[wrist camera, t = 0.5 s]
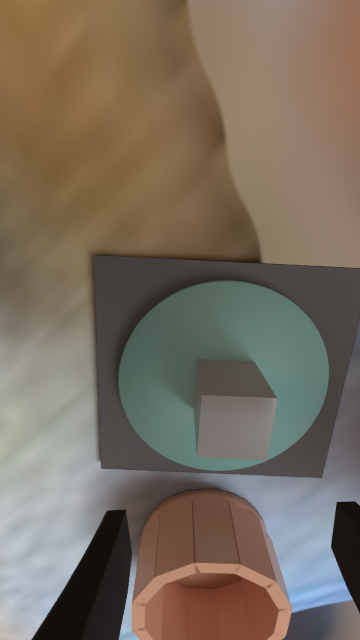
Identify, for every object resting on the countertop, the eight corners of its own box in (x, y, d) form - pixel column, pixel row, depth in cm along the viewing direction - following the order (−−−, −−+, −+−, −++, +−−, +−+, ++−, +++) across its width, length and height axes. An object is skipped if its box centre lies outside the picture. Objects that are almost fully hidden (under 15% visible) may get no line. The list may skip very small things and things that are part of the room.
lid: (341, 285, 16) (407, 302, 11) (303, 465, 20) (341, 534, 15) (119, 274, 16) (94, 287, 11) (122, 457, 19) (103, 525, 15)
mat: (365, 268, 16) (371, 269, 16) (318, 472, 20) (321, 477, 20) (96, 254, 16) (93, 255, 16) (103, 463, 20) (101, 468, 20)
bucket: (274, 491, 21) (302, 566, 16) (257, 582, 24) (277, 670, 19) (143, 486, 21) (132, 560, 16) (142, 578, 23) (132, 665, 19)
